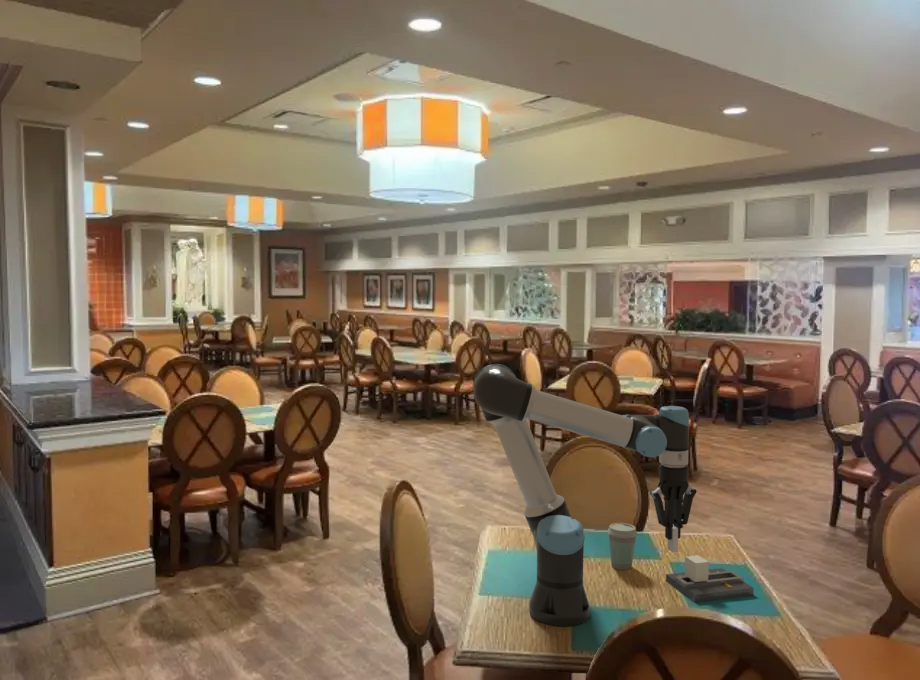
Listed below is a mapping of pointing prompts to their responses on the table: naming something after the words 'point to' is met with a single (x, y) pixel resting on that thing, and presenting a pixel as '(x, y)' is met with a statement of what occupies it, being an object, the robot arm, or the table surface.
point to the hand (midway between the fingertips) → (672, 550)
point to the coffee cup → (622, 545)
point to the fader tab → (696, 568)
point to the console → (711, 585)
